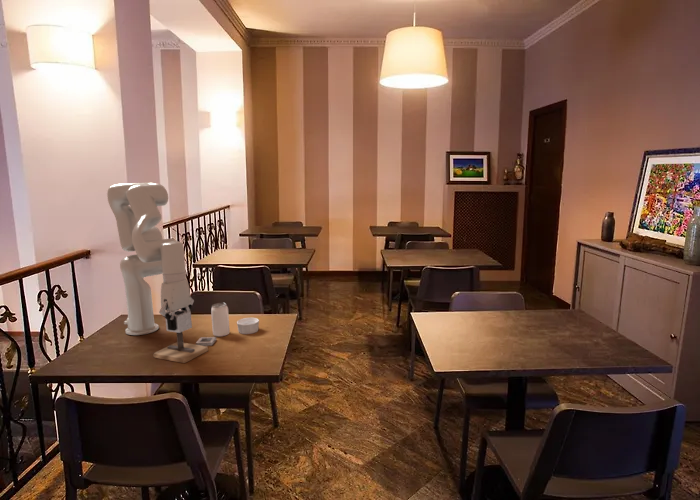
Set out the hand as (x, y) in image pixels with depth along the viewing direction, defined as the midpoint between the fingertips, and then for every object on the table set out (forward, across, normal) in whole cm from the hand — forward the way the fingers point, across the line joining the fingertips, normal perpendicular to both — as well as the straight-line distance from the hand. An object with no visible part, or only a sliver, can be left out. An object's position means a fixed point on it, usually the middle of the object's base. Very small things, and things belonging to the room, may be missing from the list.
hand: (179, 326), depth 168 cm
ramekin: (+11, -29, +8) cm, 32 cm away
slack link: (+10, -12, +1) cm, 16 cm away
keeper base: (+10, 0, 0) cm, 10 cm away
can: (+10, -22, 0) cm, 24 cm away
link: (+1, 0, 0) cm, 1 cm away
